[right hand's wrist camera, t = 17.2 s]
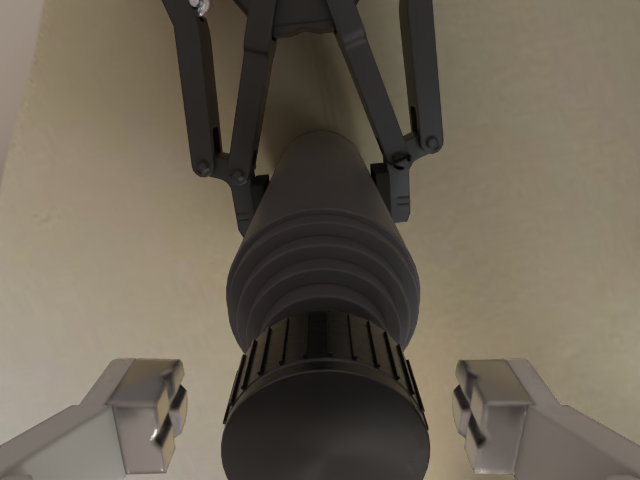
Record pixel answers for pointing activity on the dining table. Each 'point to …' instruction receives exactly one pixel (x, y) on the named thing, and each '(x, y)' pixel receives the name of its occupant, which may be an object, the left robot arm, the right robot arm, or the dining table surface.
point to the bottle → (322, 247)
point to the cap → (325, 405)
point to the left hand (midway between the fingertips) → (329, 276)
